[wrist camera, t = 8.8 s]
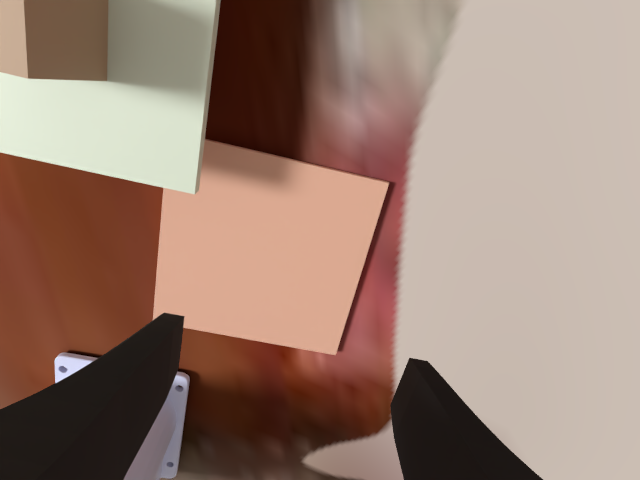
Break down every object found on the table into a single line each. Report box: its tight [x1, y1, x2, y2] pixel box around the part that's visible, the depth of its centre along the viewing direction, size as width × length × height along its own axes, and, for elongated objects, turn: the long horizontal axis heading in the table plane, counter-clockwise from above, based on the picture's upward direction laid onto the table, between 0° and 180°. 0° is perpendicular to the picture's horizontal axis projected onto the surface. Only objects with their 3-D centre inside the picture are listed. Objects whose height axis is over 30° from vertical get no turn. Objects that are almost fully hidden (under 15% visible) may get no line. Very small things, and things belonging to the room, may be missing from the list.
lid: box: [0, 0, 221, 194], centre depth 11 cm, size 10×10×5 cm
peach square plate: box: [153, 139, 389, 355], centre depth 20 cm, size 11×11×1 cm
